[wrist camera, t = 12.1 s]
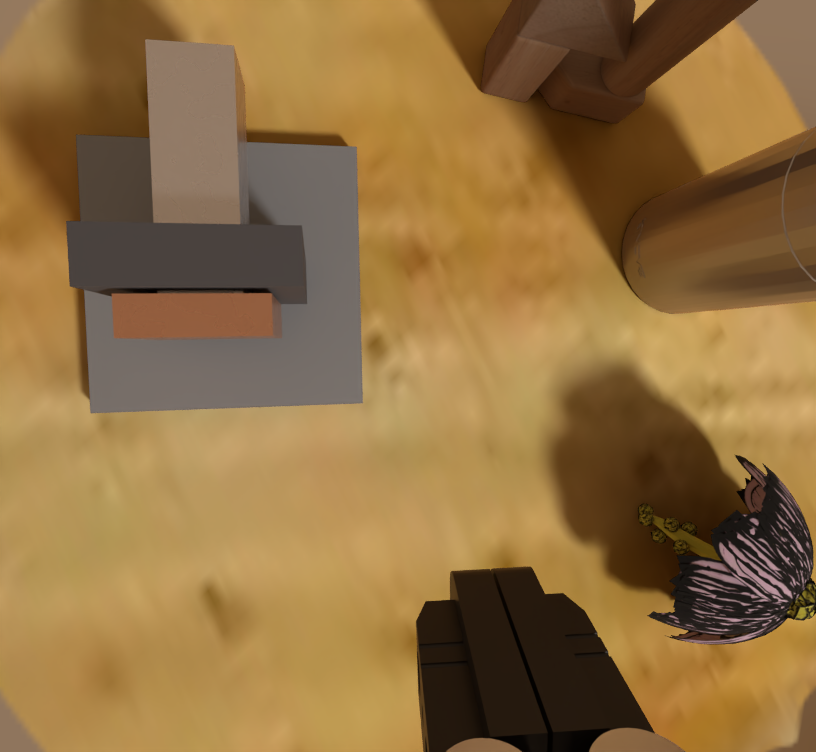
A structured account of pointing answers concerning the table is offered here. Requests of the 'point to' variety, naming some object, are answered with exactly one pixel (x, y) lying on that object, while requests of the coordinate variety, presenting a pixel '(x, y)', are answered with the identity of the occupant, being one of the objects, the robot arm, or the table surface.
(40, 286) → the table surface
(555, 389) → the table surface
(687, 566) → the decorative flower
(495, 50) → the wooden block
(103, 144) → the base plate
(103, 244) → the rubber collar
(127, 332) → the sliding block
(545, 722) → the robot arm
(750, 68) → the table surface
